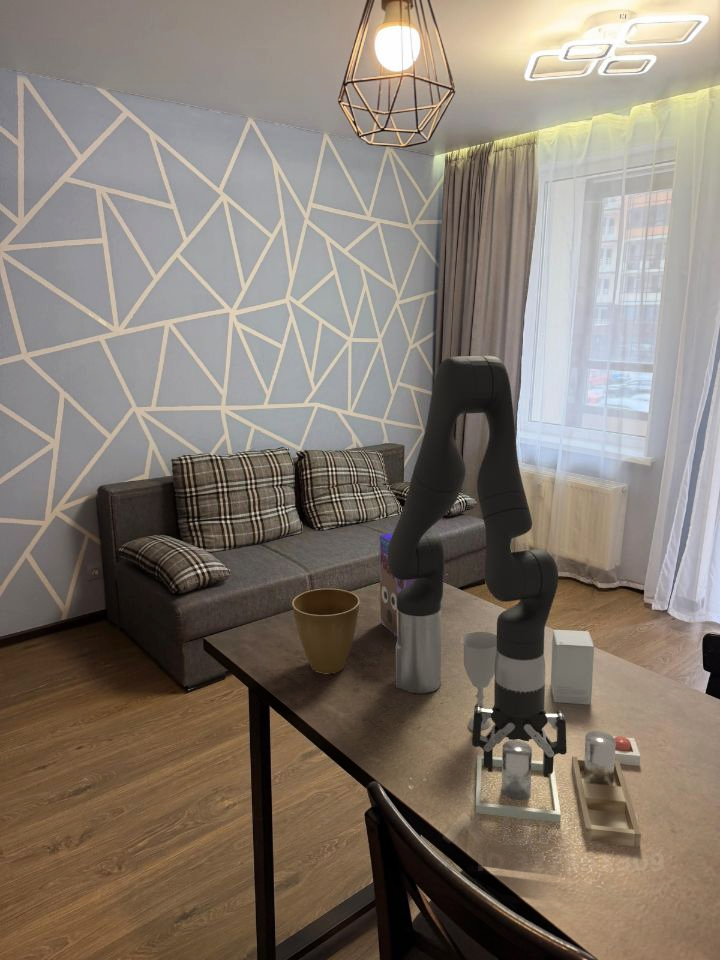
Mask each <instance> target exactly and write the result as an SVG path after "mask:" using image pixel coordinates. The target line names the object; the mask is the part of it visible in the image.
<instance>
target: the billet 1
mask: <svg viewBox="0 0 720 960" xmlns="http://www.w3.org/2000/svg"><path fill="white" fill-rule="evenodd" d="M501 752H502V754H501V755H502V756H501V757H502V767H501V791H502V794H503V795H504V796H505V797H507V798H509V799H512V800H515V801H523V800H526V799H528V798H529V797H530V796H531V793H532V792H531V790H532V770H531V765H532V760H533V758H532V757H533V749H532V747H531V746H530V744H528V743H526V741H523V740H519V739H516V740H508V741H505V742H504V743H503V744H502V751H501Z"/></svg>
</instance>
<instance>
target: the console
mask: <svg viewBox="0 0 720 960" xmlns="http://www.w3.org/2000/svg"><path fill="white" fill-rule="evenodd" d="M611 736H612V737H614V738H615V737H616V736H614V735H611ZM624 737H625V736H624ZM625 738H627V739H628V740H629V741H630V752H627V751H616V750H615V760H616V761H619V763H620V765H628V766H639V767H640V766H641V753H640V750H639V747H638V744H637V743H636V739H635V737H625Z"/></svg>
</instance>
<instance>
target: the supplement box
mask: <svg viewBox="0 0 720 960" xmlns="http://www.w3.org/2000/svg"><path fill="white" fill-rule="evenodd" d="M551 639H552V640H551V641H552V644H551V645H552V646H551V669H550V670H551V672H550V688H551V693H552V694H551V695H552V699H553V702H554V703H561V704H563V703H564V704H574V705H575V704H576V705H590V706H591V705H592V693H593V691H592V690H593V671H594V653H595V646H594V642H593V639H592V636H591V634H590V632H589V631H586V630H572V629H571V630H568V629H553V630H552V638H551Z"/></svg>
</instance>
